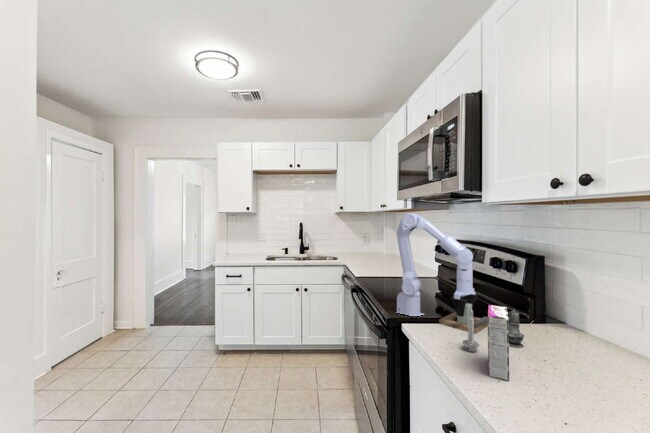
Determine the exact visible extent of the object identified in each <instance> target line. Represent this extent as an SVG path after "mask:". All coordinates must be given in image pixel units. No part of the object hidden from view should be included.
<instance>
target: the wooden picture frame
mask: <svg viewBox="0 0 650 433" xmlns="http://www.w3.org/2000/svg"><path fill="white" fill-rule="evenodd" d="M456 318H457V312H456V311H455V312H452V313H450V314H448V315H445V316H444V317H442V318H440V319H438V324H440V325H442V326H443V325H444V326H447V327H449V328H450V327H451V328H453V329H456V330H457V329H458V330H462V331H464V332H468V325H467V324H464V323H460V322H457V320H456V321H455V319H456ZM473 318H474V319H473V320H474V323H475V322H476V321H478V320H480V319H481V318H482V317H481V318H480V317H476V316H473ZM485 328H488V321H487V322H486V323H484V324H483V325H481V326H479V327H478V328H476V329H475V328H474V335H475V334H476V335H477V334H478V333H480V332H481V331H482V330H484V329H485Z"/></svg>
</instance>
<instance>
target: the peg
mask: <svg viewBox="0 0 650 433" xmlns="http://www.w3.org/2000/svg"><path fill="white" fill-rule="evenodd" d="M470 309H471V310H473V308H472V304H469V303H466V305H465V310H464V316H463V317H461V316H457V320H456V322H460V323H464V324H467V325H468V317H469V310H470Z"/></svg>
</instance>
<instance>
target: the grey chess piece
mask: <svg viewBox="0 0 650 433" xmlns="http://www.w3.org/2000/svg"><path fill="white" fill-rule="evenodd" d="M508 318H509V348H510V347H511V348H515V349H522V348H524V345H523V343H522V342H523V340H524V338H525V334H524V333H522V332H521V331H520V325H521V322H520V314H519V313H518V312H517V311H516V309H515V308H513V309H512V310H511V311H509V312H508Z"/></svg>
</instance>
